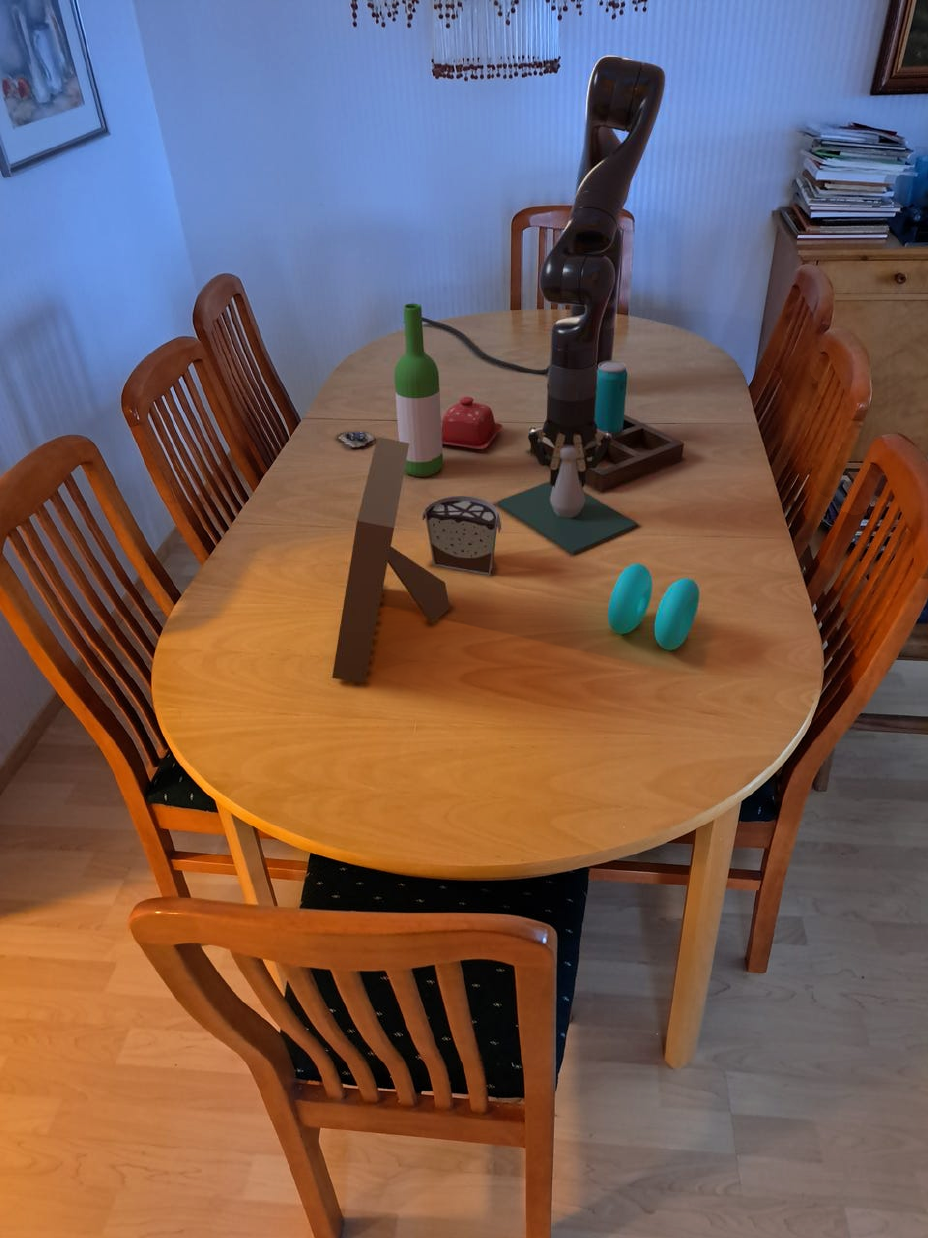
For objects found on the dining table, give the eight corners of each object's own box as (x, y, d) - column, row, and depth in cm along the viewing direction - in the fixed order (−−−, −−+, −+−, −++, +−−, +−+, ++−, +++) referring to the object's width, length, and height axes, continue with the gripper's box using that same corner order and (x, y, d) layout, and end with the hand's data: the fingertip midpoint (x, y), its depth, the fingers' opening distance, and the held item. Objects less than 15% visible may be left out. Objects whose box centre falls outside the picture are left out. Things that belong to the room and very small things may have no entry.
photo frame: (332, 683, 119) (308, 520, 104) (354, 588, 136) (336, 437, 121) (444, 683, 118) (436, 520, 103) (451, 588, 136) (445, 436, 121)
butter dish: (429, 446, 174) (427, 405, 169) (452, 422, 182) (450, 382, 177) (484, 455, 170) (484, 413, 165) (505, 430, 178) (505, 389, 173)
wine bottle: (451, 467, 167) (445, 304, 148) (422, 483, 162) (411, 316, 144) (422, 455, 171) (412, 295, 153) (392, 470, 166) (379, 306, 148)
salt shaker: (584, 503, 154) (588, 434, 146) (584, 521, 149) (588, 450, 141) (549, 502, 154) (552, 433, 146) (549, 520, 150) (551, 449, 142)
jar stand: (530, 451, 171) (530, 434, 169) (608, 423, 180) (609, 407, 178) (601, 492, 158) (603, 474, 156) (682, 459, 167) (684, 442, 165)
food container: (511, 555, 142) (511, 500, 136) (499, 576, 138) (499, 520, 132) (438, 543, 146) (435, 489, 140) (424, 563, 141) (421, 508, 135)
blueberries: (358, 452, 172) (357, 443, 171) (328, 442, 176) (327, 433, 175) (381, 439, 177) (380, 430, 176) (351, 429, 181) (350, 420, 179)
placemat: (496, 504, 155) (496, 501, 155) (559, 480, 162) (559, 477, 161) (573, 554, 142) (573, 551, 142) (637, 526, 148) (637, 523, 148)
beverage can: (625, 436, 175) (632, 362, 166) (616, 449, 171) (622, 373, 162) (597, 431, 177) (602, 357, 168) (587, 444, 173) (592, 368, 164)
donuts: (670, 666, 120) (679, 606, 114) (601, 643, 124) (606, 584, 118) (696, 627, 127) (706, 568, 121) (631, 606, 131) (637, 548, 125)
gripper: (618, 381, 140) (610, 479, 151) (529, 377, 142) (527, 474, 153) (617, 400, 134) (609, 501, 145) (523, 396, 136) (522, 496, 147)
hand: (567, 487), depth 149 cm, fingers closed on salt shaker, 3 cm apart
